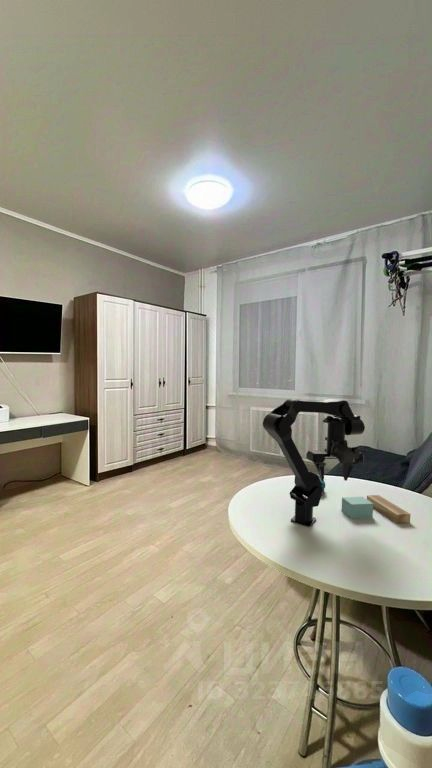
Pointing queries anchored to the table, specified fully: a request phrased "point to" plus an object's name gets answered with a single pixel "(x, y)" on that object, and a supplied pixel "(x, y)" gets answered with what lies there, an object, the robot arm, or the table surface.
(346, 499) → the block
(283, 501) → the table surface
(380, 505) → the board
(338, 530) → the table surface
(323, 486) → the toy
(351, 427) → the robot arm
